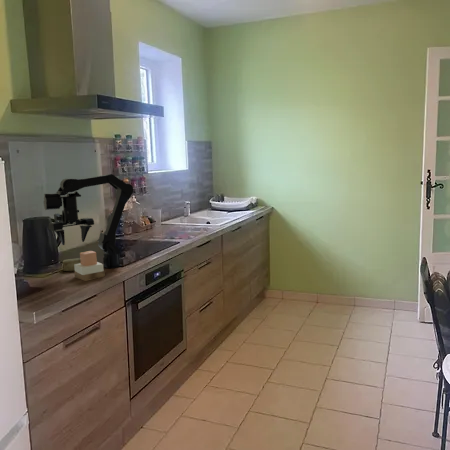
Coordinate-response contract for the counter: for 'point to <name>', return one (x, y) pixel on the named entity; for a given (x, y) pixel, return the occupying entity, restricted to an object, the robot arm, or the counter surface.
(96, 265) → the tower top
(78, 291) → the counter surface
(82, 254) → the cube
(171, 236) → the counter surface
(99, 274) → the tower bottom
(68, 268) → the stone block
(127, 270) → the counter surface
